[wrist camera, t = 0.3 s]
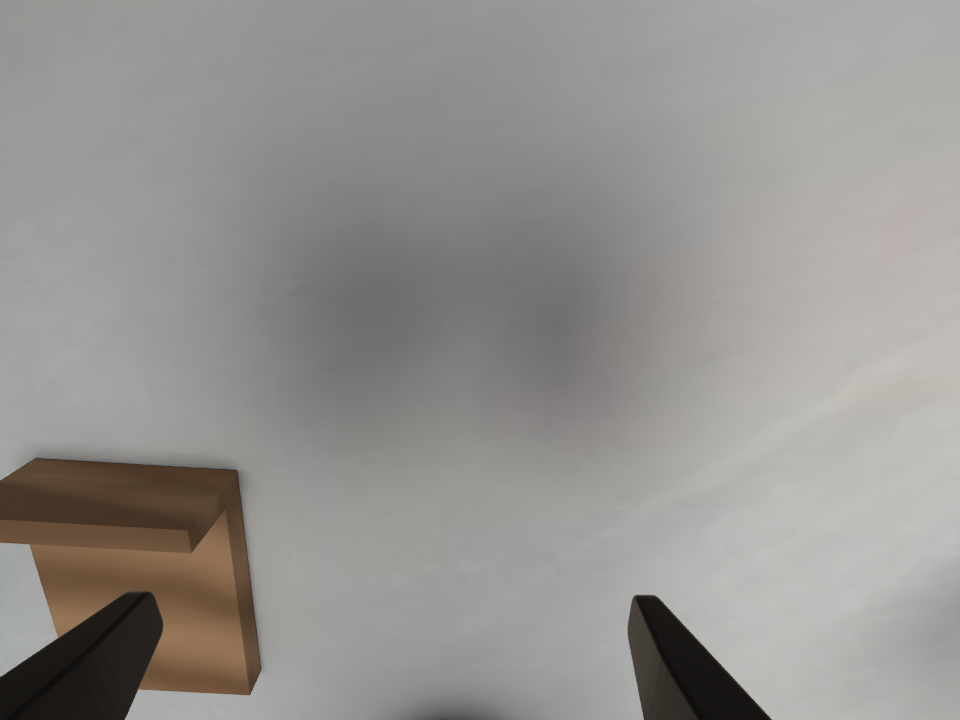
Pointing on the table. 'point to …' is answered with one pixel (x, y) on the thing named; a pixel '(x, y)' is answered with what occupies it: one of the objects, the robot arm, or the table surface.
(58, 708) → the robot arm
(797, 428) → the table surface
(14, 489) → the shelf board
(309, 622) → the table surface
